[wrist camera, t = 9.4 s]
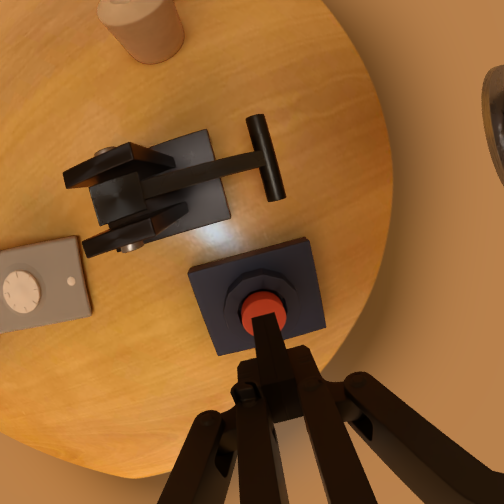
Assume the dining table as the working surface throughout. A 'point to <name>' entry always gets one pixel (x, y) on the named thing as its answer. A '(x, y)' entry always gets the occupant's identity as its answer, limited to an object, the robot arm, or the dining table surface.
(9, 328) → the light switch
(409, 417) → the robot arm
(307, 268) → the control block
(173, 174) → the switch lever
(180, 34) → the candle
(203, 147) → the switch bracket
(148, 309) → the dining table surface
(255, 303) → the power button
